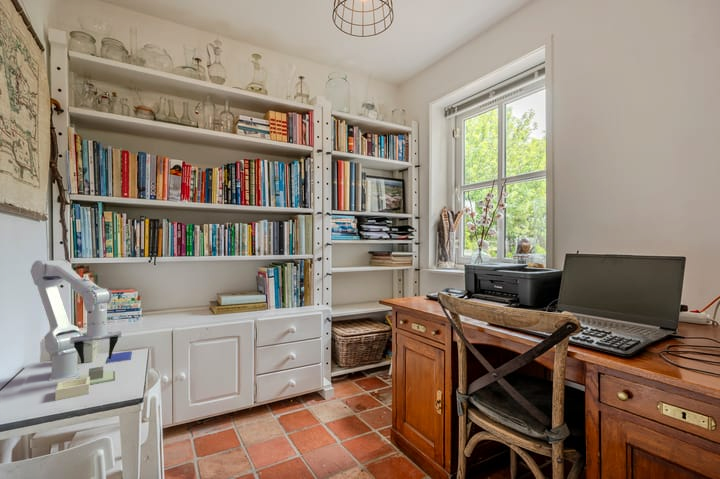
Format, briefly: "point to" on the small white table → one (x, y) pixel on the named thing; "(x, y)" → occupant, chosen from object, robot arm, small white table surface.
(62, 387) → the dish
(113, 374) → the mat
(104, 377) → the lid
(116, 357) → the hard drive
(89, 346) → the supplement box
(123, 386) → the small white table surface
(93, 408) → the small white table surface
